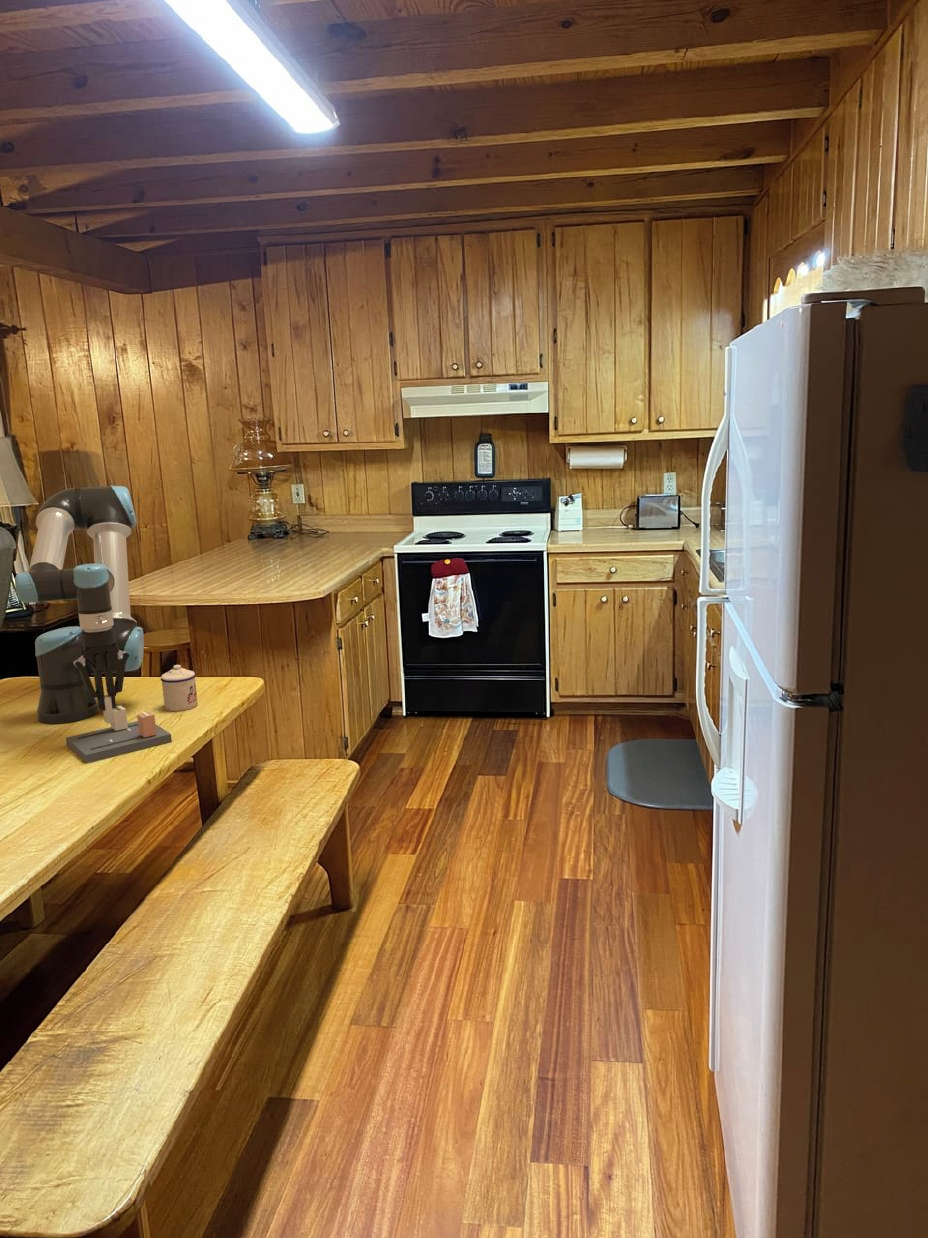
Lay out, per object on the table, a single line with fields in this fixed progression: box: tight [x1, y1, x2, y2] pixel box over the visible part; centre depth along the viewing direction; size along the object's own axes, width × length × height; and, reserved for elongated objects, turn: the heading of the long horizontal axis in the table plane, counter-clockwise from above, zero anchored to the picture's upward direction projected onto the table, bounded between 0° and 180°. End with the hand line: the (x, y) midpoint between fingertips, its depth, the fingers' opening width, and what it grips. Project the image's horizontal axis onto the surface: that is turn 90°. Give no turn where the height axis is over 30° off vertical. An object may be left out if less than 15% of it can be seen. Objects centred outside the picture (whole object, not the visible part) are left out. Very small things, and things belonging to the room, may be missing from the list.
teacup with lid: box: [160, 664, 198, 712], centre depth 246 cm, size 12×9×12 cm
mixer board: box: [65, 720, 173, 764], centre depth 218 cm, size 16×20×2 cm
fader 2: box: [136, 711, 157, 738], centre depth 216 cm, size 4×3×5 cm
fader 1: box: [110, 705, 128, 731], centre depth 222 cm, size 4×3×5 cm
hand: (109, 721), depth 221 cm, fingers closed
